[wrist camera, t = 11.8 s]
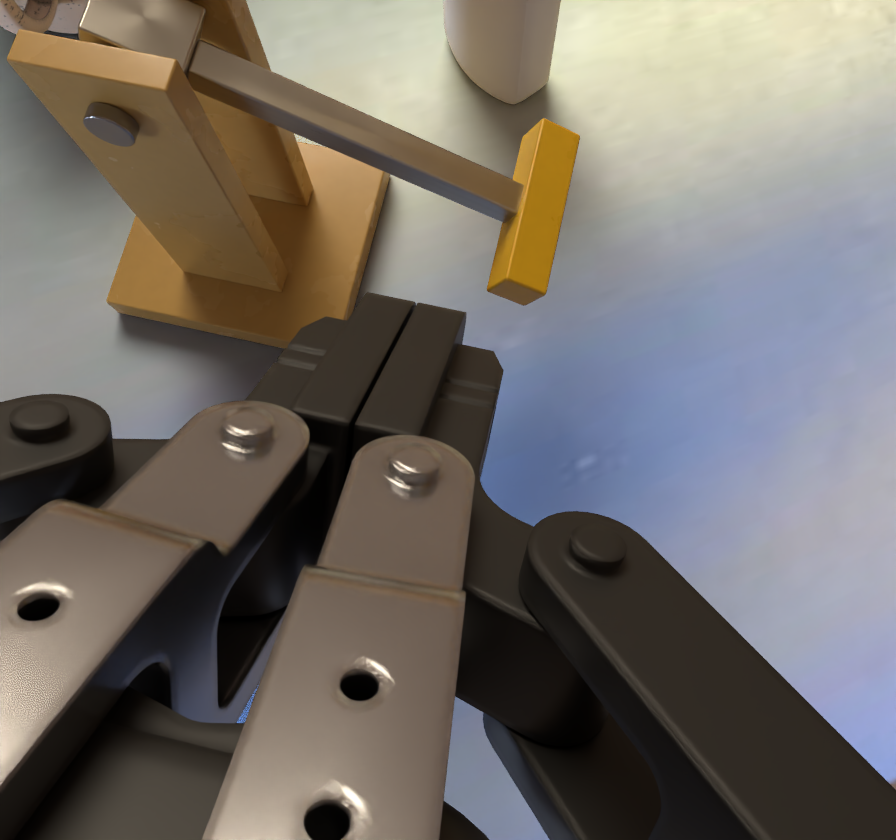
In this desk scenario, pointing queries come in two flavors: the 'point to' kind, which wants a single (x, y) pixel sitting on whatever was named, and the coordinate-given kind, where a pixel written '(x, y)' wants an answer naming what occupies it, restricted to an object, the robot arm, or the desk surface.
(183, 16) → the lever handle
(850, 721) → the desk surface
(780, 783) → the robot arm
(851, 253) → the desk surface
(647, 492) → the desk surface
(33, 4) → the teacup with lid
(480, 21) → the eye dropper bottle
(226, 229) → the wooden lever stand
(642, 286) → the desk surface
